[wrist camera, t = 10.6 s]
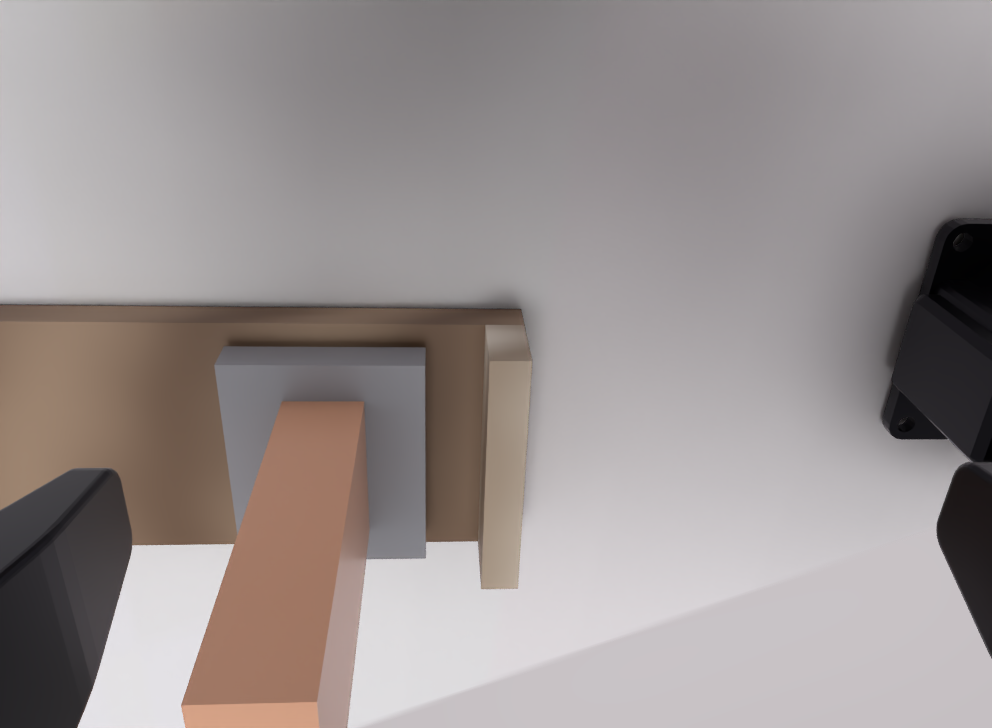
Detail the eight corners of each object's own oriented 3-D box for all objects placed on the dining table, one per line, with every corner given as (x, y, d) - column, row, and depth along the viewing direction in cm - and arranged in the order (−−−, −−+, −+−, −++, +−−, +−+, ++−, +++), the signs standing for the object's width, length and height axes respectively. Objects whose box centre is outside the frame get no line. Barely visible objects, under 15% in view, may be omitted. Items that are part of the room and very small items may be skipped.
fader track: (520, 309, 22) (532, 361, 19) (509, 519, 25) (517, 588, 23) (-152, 303, 21) (-237, 358, 18) (-74, 525, 24) (-137, 599, 21)
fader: (425, 347, 21) (416, 651, 12) (426, 534, 24) (419, 893, 15) (223, 346, 21) (63, 659, 12) (248, 536, 23) (133, 905, 15)
